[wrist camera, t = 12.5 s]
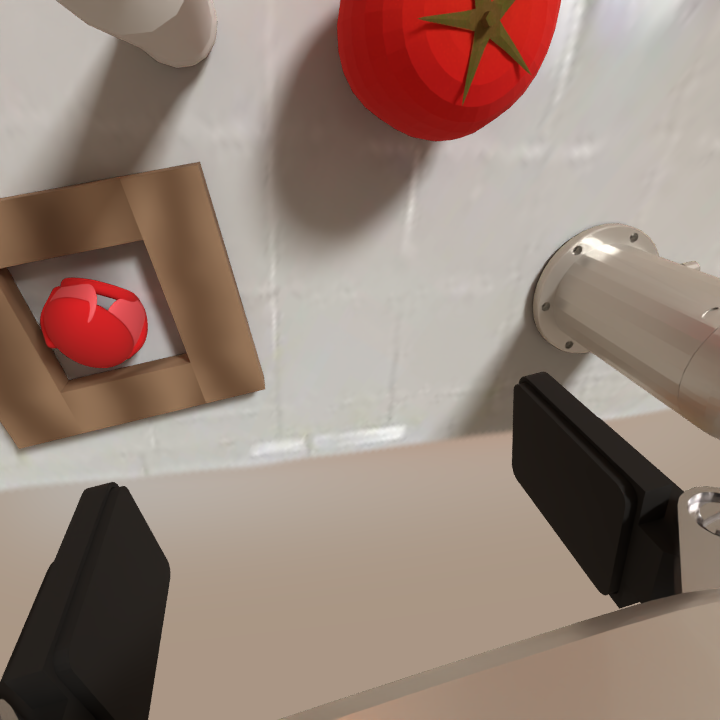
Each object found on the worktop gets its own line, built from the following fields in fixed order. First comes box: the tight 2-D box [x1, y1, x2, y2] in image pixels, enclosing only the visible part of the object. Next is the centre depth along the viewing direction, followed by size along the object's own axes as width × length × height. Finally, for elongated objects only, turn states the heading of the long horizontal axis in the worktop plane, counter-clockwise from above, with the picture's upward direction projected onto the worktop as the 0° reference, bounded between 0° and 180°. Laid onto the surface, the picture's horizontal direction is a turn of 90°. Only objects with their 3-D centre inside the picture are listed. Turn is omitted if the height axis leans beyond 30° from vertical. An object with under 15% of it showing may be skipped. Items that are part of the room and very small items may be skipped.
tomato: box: [337, 0, 561, 141], centre depth 26 cm, size 12×12×13 cm
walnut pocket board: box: [0, 162, 265, 449], centre depth 35 cm, size 20×18×2 cm
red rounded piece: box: [40, 278, 148, 368], centre depth 34 cm, size 8×6×6 cm
